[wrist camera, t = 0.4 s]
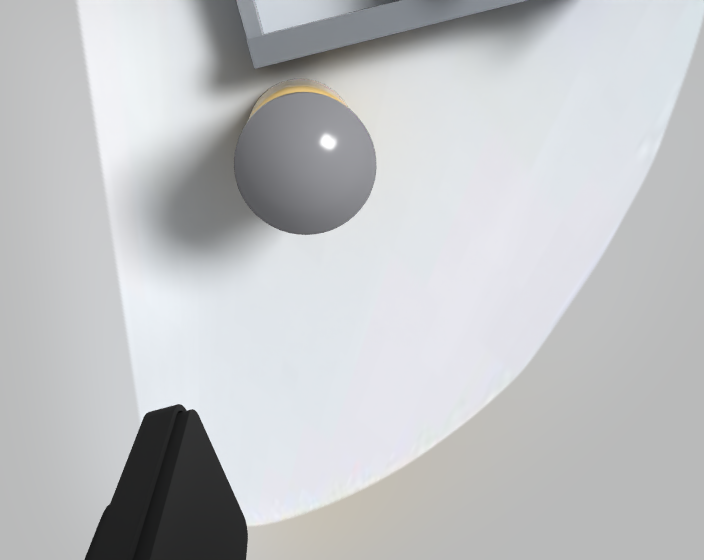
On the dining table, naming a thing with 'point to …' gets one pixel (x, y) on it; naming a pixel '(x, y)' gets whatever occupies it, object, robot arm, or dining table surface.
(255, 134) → the honey jar
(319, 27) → the grey open rectangular box
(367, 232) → the dining table surface
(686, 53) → the dining table surface
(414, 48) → the dining table surface
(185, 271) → the dining table surface
